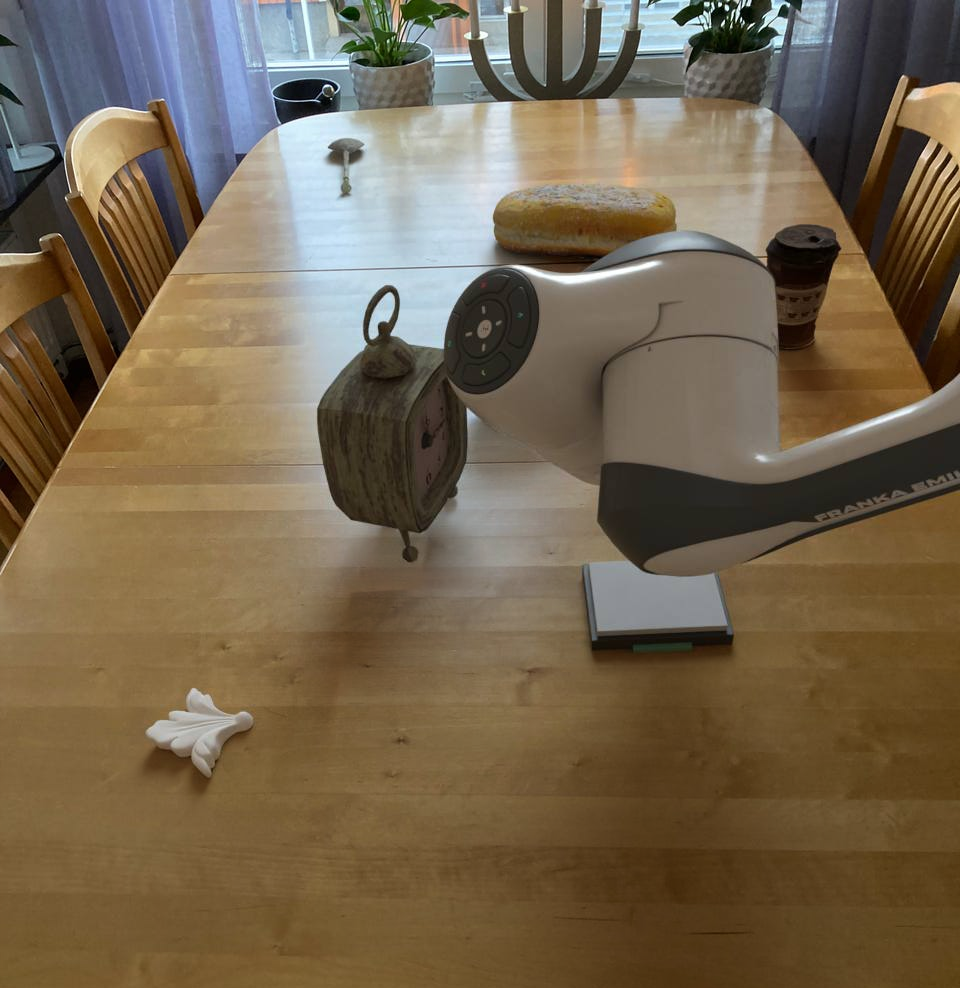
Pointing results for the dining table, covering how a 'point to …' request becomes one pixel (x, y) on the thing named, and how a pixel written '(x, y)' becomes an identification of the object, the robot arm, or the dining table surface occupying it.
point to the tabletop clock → (392, 432)
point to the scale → (653, 609)
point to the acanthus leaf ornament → (198, 731)
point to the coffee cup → (800, 279)
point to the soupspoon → (346, 156)
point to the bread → (580, 219)
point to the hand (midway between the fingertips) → (673, 468)
